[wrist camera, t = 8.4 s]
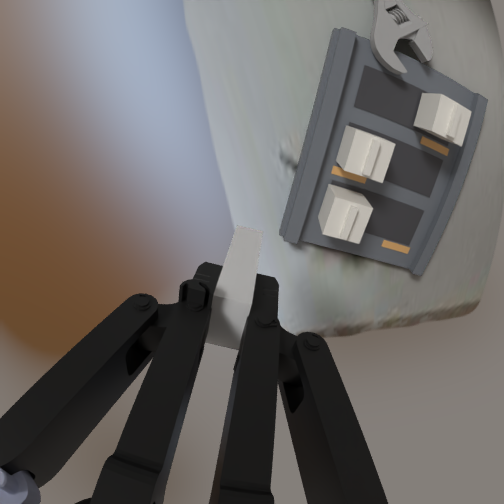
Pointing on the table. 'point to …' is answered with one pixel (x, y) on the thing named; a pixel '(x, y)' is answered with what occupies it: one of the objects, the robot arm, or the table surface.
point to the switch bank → (402, 160)
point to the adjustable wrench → (398, 34)
